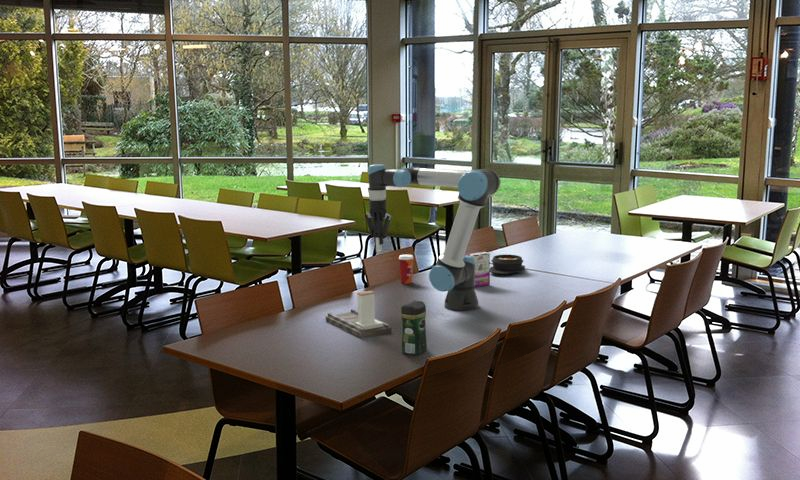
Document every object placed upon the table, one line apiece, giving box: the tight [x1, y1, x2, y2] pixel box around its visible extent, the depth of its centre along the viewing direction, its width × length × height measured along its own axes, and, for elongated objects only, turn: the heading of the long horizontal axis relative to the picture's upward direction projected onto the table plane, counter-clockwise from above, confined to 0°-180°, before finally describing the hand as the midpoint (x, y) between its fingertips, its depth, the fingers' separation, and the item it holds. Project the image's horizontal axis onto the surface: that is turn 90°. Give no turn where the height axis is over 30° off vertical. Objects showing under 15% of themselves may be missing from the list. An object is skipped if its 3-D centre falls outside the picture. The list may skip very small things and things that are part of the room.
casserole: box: [490, 254, 526, 275], centre depth 417 cm, size 25×19×8 cm
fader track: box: [325, 308, 393, 339], centre depth 319 cm, size 30×14×3 cm, turn 32°
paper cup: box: [398, 254, 414, 285], centre depth 395 cm, size 8×8×14 cm
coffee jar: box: [400, 300, 428, 355], centre depth 285 cm, size 10×8×19 cm
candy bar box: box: [465, 251, 491, 288], centre depth 386 cm, size 11×5×16 cm, turn 117°
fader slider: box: [355, 290, 383, 330], centre depth 310 cm, size 7×9×14 cm
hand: (379, 251), depth 351 cm, fingers closed
